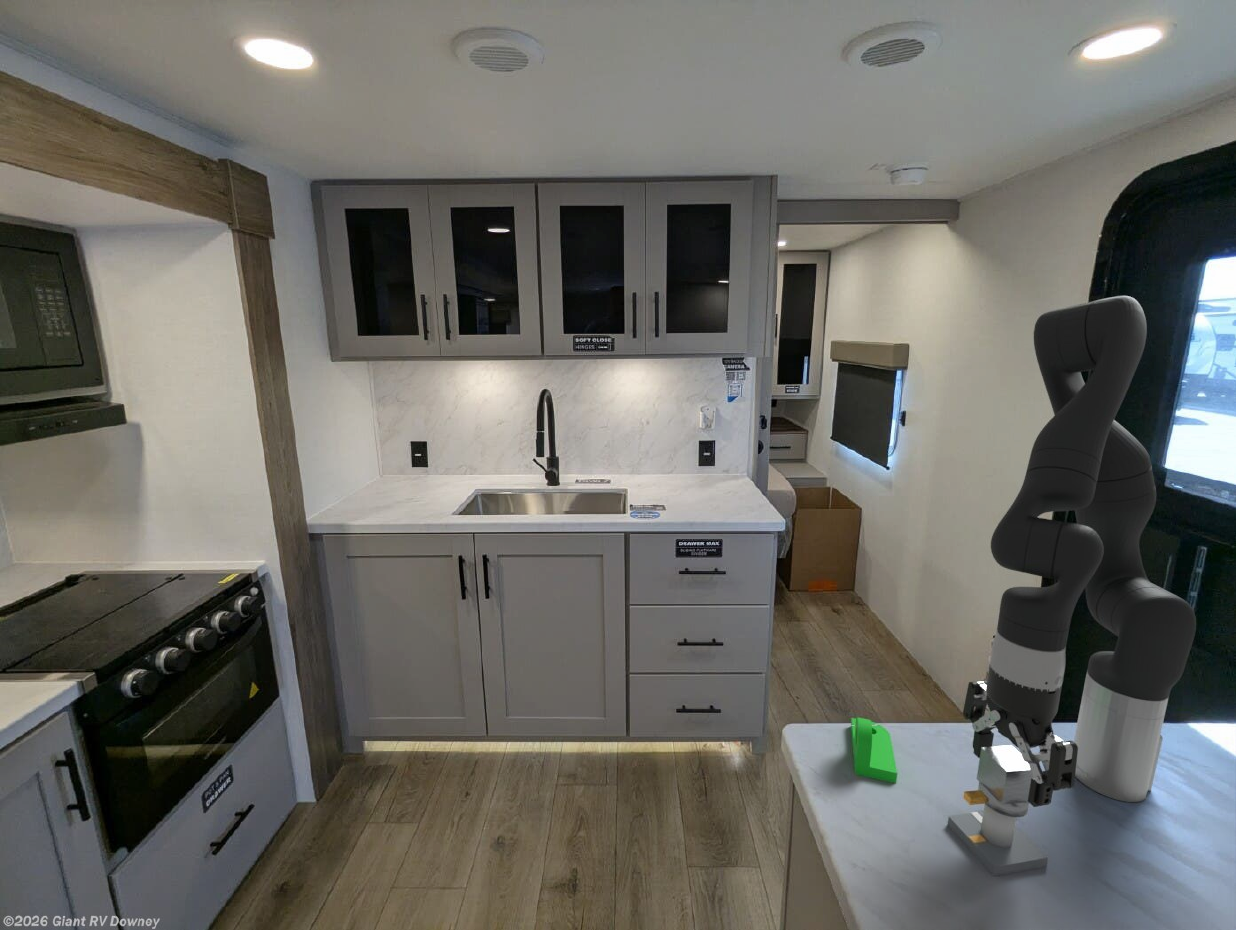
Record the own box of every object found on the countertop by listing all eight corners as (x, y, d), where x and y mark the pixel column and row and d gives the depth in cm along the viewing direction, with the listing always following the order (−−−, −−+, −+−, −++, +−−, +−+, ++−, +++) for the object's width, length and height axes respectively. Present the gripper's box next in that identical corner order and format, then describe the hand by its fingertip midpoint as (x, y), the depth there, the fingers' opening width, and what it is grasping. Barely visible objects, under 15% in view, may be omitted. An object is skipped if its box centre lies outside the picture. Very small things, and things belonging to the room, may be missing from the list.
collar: (951, 786, 76) (957, 745, 75) (1005, 782, 77) (1011, 741, 76) (981, 820, 71) (988, 776, 69) (1038, 815, 71) (1046, 772, 70)
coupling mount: (995, 816, 80) (1002, 775, 78) (1046, 866, 72) (1054, 822, 71) (947, 824, 79) (953, 783, 77) (993, 876, 71) (1001, 831, 69)
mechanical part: (896, 784, 86) (901, 739, 85) (855, 774, 88) (859, 731, 87) (887, 734, 97) (891, 694, 96) (850, 727, 99) (854, 688, 98)
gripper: (956, 643, 76) (943, 745, 79) (1053, 708, 62) (1032, 827, 65) (1002, 638, 77) (988, 738, 80) (1107, 700, 63) (1084, 818, 67)
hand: (1008, 778), depth 73 cm, fingers open, 8 cm apart
